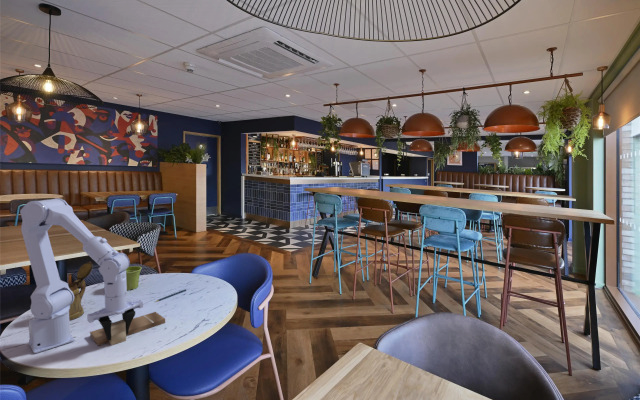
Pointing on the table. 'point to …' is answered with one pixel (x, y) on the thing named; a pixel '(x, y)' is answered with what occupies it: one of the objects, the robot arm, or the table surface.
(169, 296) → the pencil
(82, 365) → the table surface
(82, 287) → the wooden mug
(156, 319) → the walnut board
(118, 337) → the marking gauge
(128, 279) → the plant pot
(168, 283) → the table surface
